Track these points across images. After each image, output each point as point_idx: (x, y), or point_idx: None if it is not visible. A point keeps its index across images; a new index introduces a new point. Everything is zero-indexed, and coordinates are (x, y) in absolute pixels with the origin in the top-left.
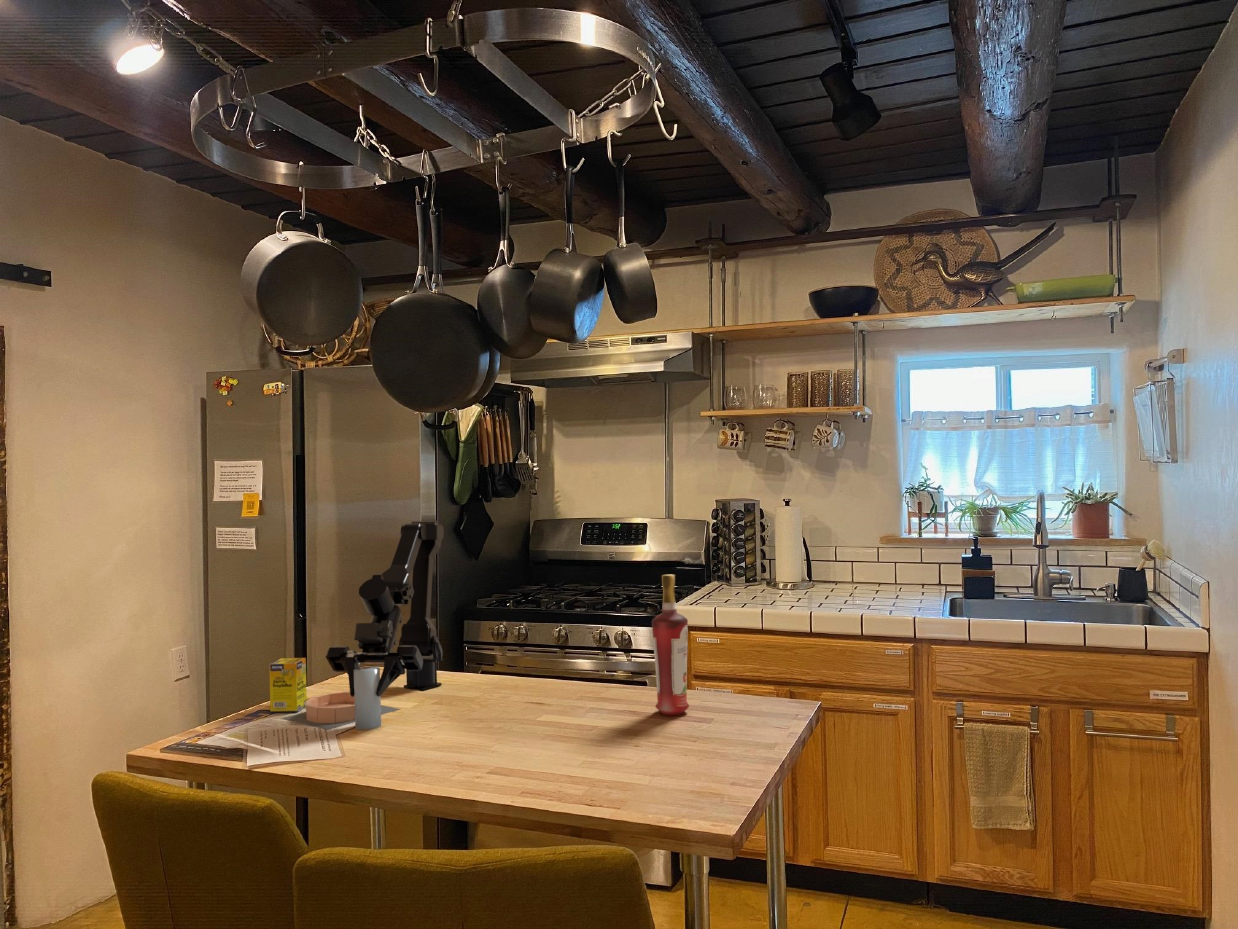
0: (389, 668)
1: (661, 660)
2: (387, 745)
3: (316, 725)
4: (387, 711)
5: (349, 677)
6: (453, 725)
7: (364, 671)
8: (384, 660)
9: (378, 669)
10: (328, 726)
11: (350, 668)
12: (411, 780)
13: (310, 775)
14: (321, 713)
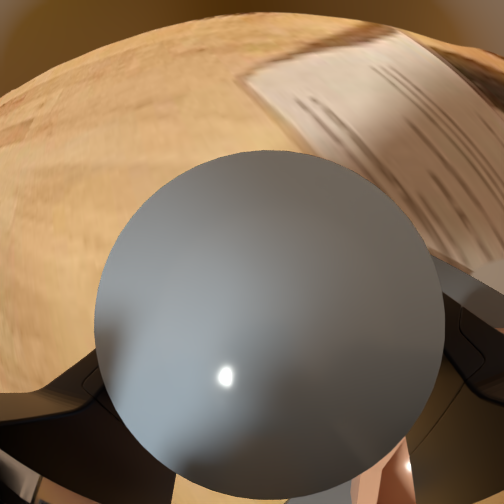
0: (50, 391)
1: None
2: (164, 163)
3: (484, 297)
4: (309, 495)
5: (459, 307)
6: (70, 354)
7: (209, 177)
8: (15, 420)
9: (97, 326)
10: (445, 293)
11: None
12: (101, 61)
13: (248, 17)
14: (501, 330)
